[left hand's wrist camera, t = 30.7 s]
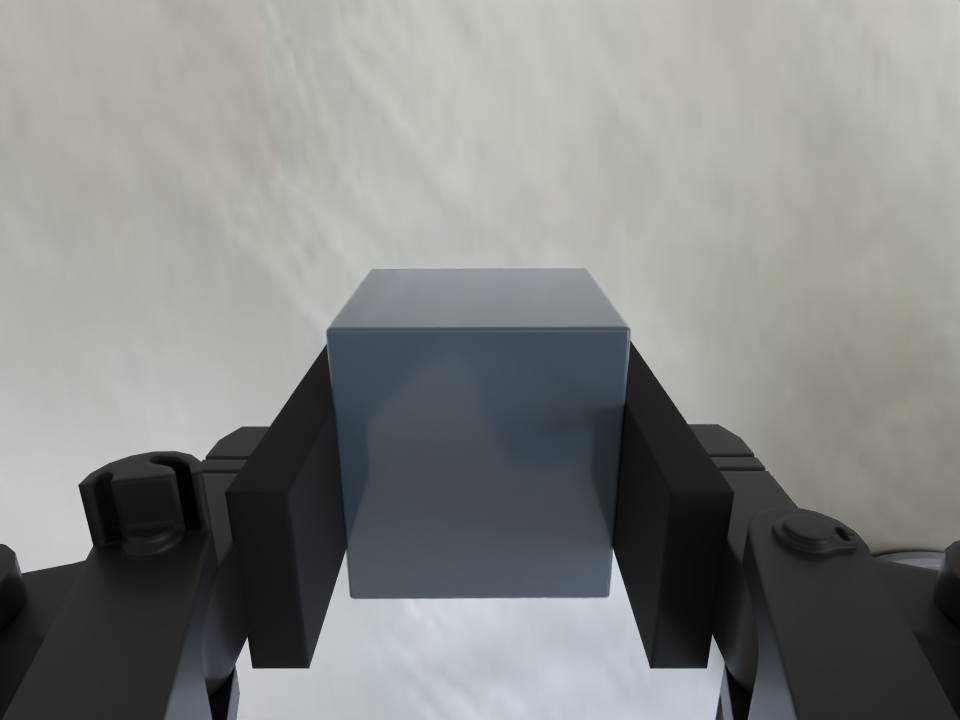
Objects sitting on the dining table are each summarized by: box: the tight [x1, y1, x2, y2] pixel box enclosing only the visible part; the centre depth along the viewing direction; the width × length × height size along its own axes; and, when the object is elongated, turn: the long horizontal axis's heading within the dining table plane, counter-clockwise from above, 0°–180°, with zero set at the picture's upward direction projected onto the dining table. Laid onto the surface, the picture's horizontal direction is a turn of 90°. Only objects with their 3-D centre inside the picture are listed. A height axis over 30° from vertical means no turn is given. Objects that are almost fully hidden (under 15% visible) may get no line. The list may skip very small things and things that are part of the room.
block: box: [326, 269, 631, 599], centre depth 12 cm, size 5×5×4 cm
